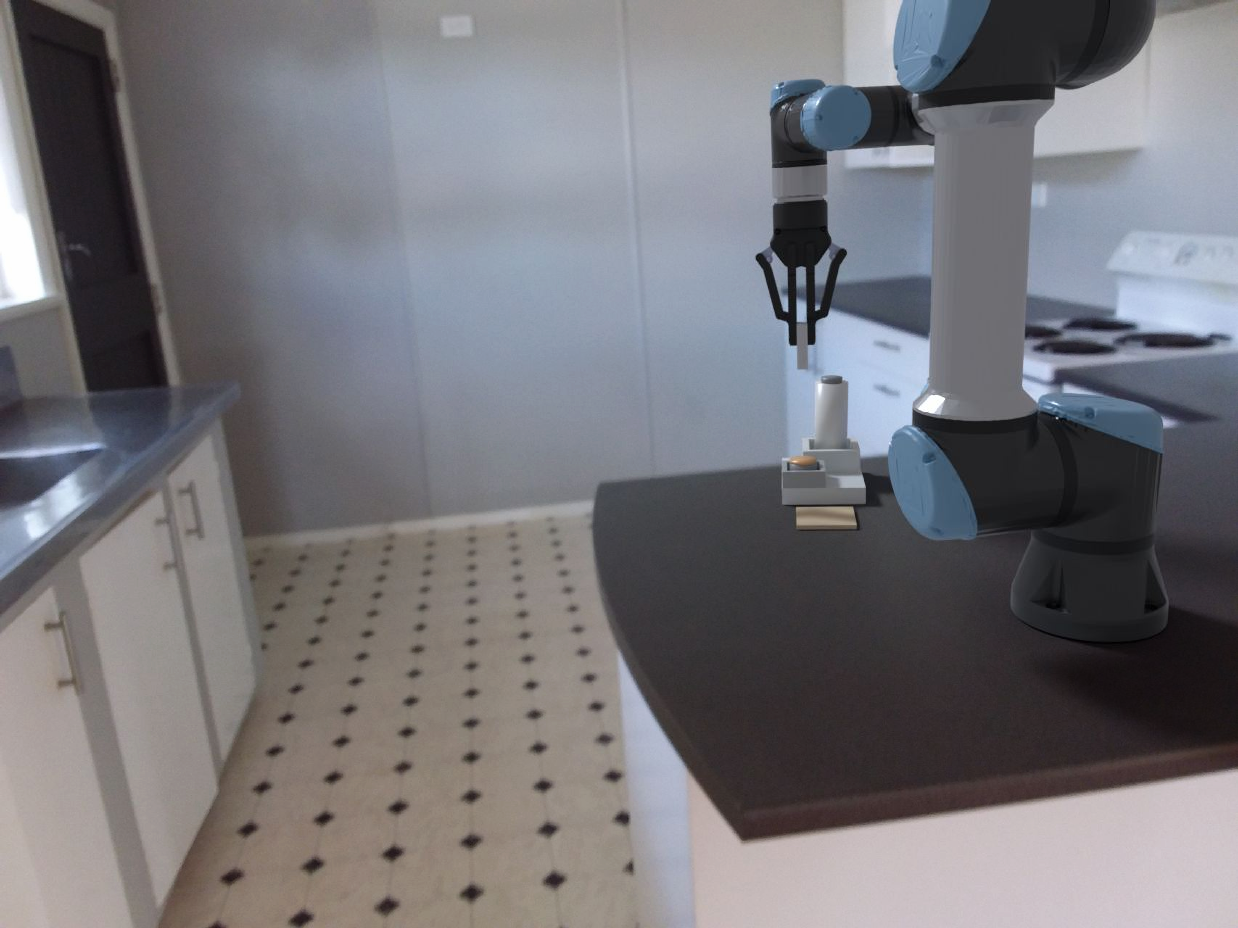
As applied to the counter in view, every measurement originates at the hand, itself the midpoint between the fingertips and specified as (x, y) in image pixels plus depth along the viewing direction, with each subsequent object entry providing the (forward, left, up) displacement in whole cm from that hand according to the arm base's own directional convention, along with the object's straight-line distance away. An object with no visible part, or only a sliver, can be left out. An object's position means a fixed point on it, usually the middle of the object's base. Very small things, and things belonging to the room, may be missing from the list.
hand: (802, 367), depth 145 cm
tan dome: (0, 0, -17) cm, 17 cm away
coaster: (-10, -3, -20) cm, 22 cm away
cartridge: (+9, -4, -17) cm, 20 cm away
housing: (+5, -3, -20) cm, 21 cm away
